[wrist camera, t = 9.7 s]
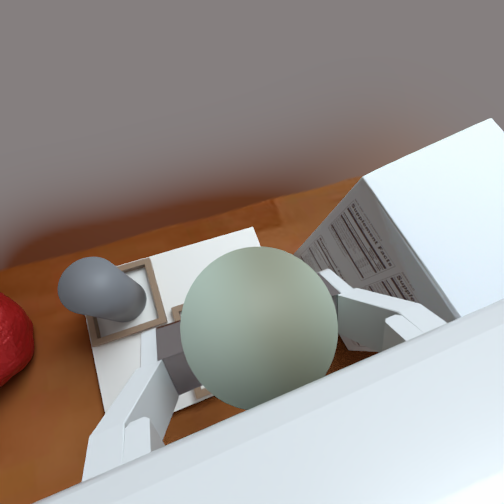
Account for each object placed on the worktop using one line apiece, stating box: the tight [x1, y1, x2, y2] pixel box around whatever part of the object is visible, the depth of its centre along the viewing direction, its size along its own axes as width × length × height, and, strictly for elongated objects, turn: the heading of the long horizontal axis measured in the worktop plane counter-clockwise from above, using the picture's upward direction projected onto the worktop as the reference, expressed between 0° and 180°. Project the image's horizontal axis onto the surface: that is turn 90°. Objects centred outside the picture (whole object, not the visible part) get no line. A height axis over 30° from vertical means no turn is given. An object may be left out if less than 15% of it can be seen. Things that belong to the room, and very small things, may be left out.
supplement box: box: [294, 118, 504, 352], centre depth 27 cm, size 13×13×18 cm
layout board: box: [58, 227, 260, 414], centre depth 26 cm, size 20×16×10 cm
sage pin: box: [180, 247, 338, 410], centre depth 12 cm, size 4×4×9 cm
